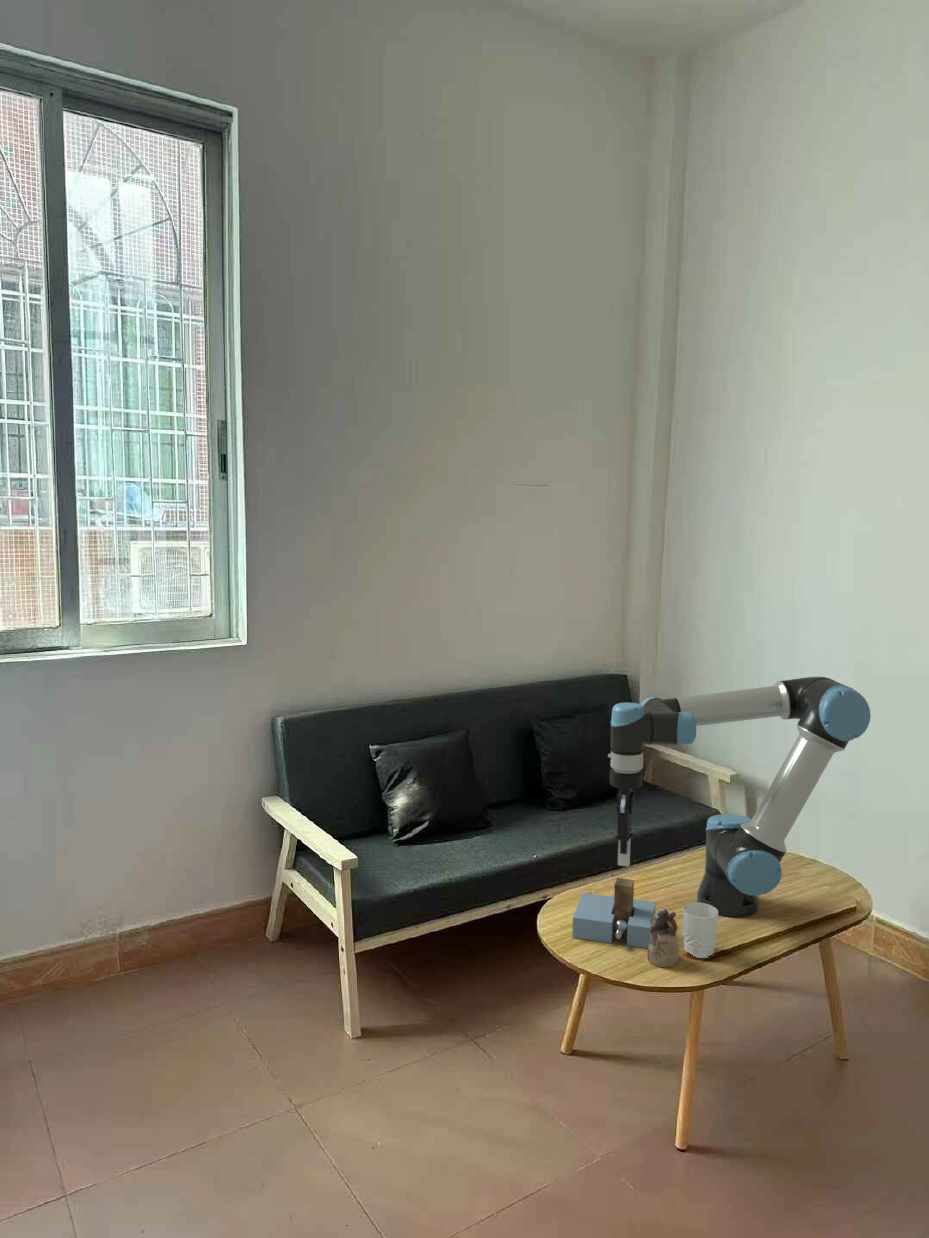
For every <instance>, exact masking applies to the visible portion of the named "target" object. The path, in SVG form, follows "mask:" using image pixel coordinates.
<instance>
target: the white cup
mask: <svg viewBox="0 0 929 1238" xmlns="http://www.w3.org/2000/svg"><path fill="white" fill-rule="evenodd" d="M718 918H719V915H718V910H717V909H716V908H715V907H713V906H711V905H709V904H705V903H698V902H690V903H689V902H688V903H686V904H685V905H683V906H682V935H683V936H682V937H683V943H684V944H683V950H684V949H685V950H687V951H688V952H690V953H691V954H692V955H693V958H697V959H708V958H709V957H708V956H710V955H712V954H713V953H714V954H715V948H716V941H717V931H718V922H719V921H718V920H719V919H718ZM714 954H713V955H714ZM713 955H712V956H713ZM694 956H695V957H694Z"/></svg>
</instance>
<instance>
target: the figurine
mask: <svg viewBox="0 0 929 1238" xmlns="http://www.w3.org/2000/svg"><path fill="white" fill-rule="evenodd" d="M676 916H677V913H676V912H675V911H672V912H671V913H669V911H668V909H666V908H661V909H659V910H657V911H655V914H654V917H653V919H652V920H651V921H650V923H651V929H650V932H651V933H652V934H651V937H650V942H649V947H648V948H647V952H646V953H647V954H646V957H647V961H648V962H647V963H649V964H650V965H651V966H655V967H658V968H672V967H675V966H677V965H678V964H679V961H680V947H679V941H678V938H677V937H678V936H677V933H676V932H677V930H678V925H677V920H675V918H676Z"/></svg>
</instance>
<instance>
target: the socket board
mask: <svg viewBox="0 0 929 1238" xmlns="http://www.w3.org/2000/svg"><path fill="white" fill-rule="evenodd" d="M655 913H656V901H652V900H651V901H650V900H642V899H634V898H633V917H629V921H628V925H627V934H626V945H627V946H628V947H629V946H630V947H637V948H645V949H648V947H649V942H650V937H651V934H652V933H651V932H650V929H651V923H650V921H651V920H652V919H653V917H654V914H655ZM614 937H615V932H614V896H611V895H603V894H596V893H595V894H594V893H587V892H582V893H581V896H580V899H579V901H578V904H577V907H576V908H575V912H574V914H573V916H572V938H573V939H580V940H587V941H588V940H589V941H592V942H593V941H594V942H600V943H601V942H603V943H609V944H613V943H612V942H613V939H614Z"/></svg>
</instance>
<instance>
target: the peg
mask: <svg viewBox="0 0 929 1238" xmlns="http://www.w3.org/2000/svg"><path fill="white" fill-rule="evenodd" d="M634 886H635V880H634V879H628V878H621V877H617V878H616V880H615V883H614V895H613V897H614V933H616V929H615V923H616V921H618V920H624V921H625V922H626V923H627V925H628V921H629V917H633V902H634V895H635V893H634V892H635V891H634V890H635V888H634ZM623 934H624V935H627V930H626V931H625V932H624V933H622V935H623Z"/></svg>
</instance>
